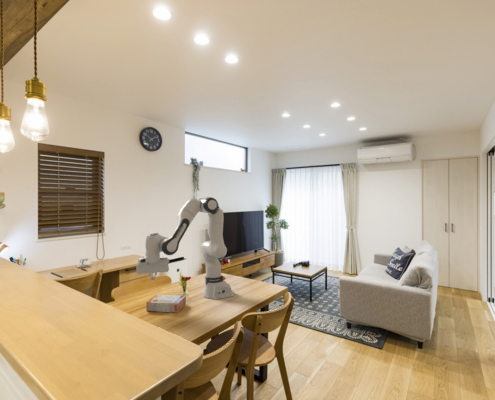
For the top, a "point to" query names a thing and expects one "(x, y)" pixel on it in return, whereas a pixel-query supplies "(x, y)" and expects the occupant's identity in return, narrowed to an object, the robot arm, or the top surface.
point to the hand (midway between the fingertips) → (152, 279)
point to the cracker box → (166, 303)
